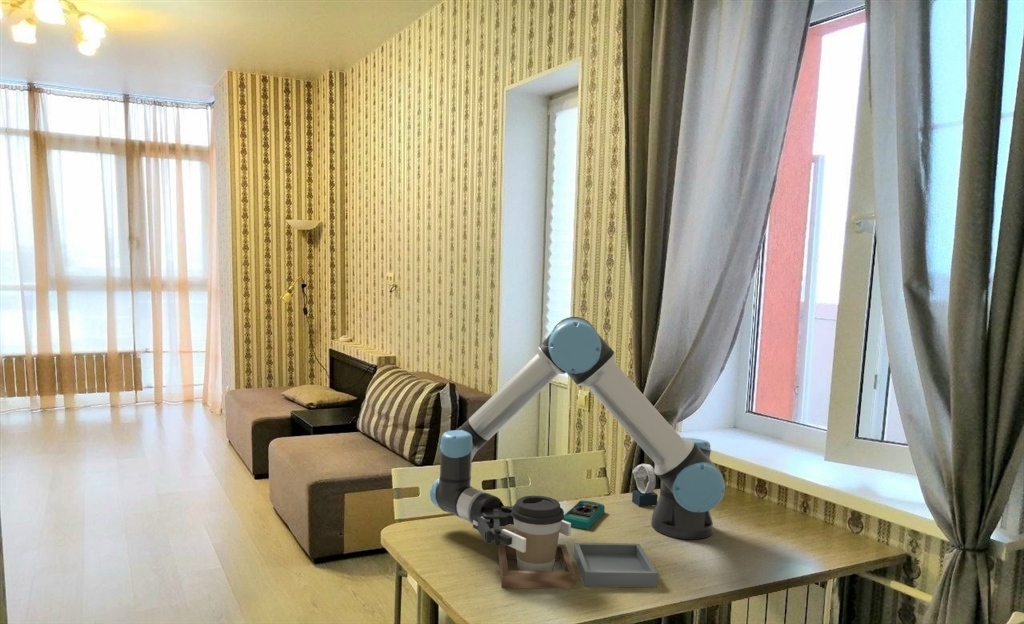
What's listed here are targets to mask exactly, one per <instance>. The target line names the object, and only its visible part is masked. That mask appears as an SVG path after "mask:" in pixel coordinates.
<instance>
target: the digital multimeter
mask: <svg viewBox="0 0 1024 624" xmlns="http://www.w3.org/2000/svg"><path fill="white" fill-rule="evenodd" d="M604 514H605V504H604V505H603V503H599V502H596V501H591V500H585V499H584V500H579V501H578V502H577V503H576V504H575V505H574V506H573V507H572V508H571V509H570V510H568V511H567V512H566V513H564V516H565V517H564V519H563V520H564V521H567V522H569V523H571V528H576V529H581V530H590V528H591V527H592V526H593V524H594V523H595V522H596V521H597V520H598V519H600V517H601V516H602V515H604Z"/></svg>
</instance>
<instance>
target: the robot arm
mask: <svg viewBox="0 0 1024 624" xmlns="http://www.w3.org/2000/svg"><path fill="white" fill-rule="evenodd" d="M615 359H616V353H615V351H614V350H613V349H612V348H611V347H610V346H609V344H608V343H607V342H606V341H605V340H604V339H603V337H602V336H601V335H600V334H599V333H598V331H597V330H596V328H595V326H594V325H593V324H591V322H590V321H589V320H587V319H585V318H582V317H579V316H570V317H566V318H563V319H562V320H560V321H559V322H558V323H557V324H556V325H555V326H554V328H553V329H552V331H551V332H550V333H549V335H548V336H547V337H546V338H545V339H544V340H543V341H542V343H540V344H539V345H538V346H537V353H536V354H535V355H534V356H532V358H530V360H529V361H527V363H525V364H524V365H523V366H522V367H521V368H520V369H519V370H518V371H517V372H516V373H515V374H514V375H513V376H512V377H511V378H509V380H508V381H507V382H505V384H503V385H502V386H501V387H500V388H499V389H498V390H497V391H496V392H495V393H494V394H493V395H492V396H491V397H489V399H487V400H486V401H485V403H483V405H481V406H480V407H479V408H478V409H477V410H476V411H475V412H474V413H473V414H472V415H471V416H470V417H469V418H468V419H467V420H466V421H465V422H464V423H463V424H462V425H461V426H459V427H457V428H456V429H455V430H448V431H445V432H443V434H442V435H441V440H440V446H439V449H440V457H439V459H440V460H439V461H440V463H439V467H440V468H439V469H440V470H439V477H438V478H436V480H434V482H433V484H432V487H431V488H430V490H429V491H430V492H429V497H430V501H431V503H432V504H433V505H434V506H436V507H437V508H439V509H441V510H442V511H443V512H445V513H450V514H451V515H455V516H457V517H459V518H460V519H463V520H464V521H467V522H469V523H470V524H472V528H473V529H475V530H477V531H478V533H479V535H480V536H481V537H482V539H483V540H484V542H485V544H489V545H490V544H491V543H492V542H493V545H494V546H495V547H499V545H500V543H503V544H506V545H508V546H510V547H512V548H514V549H516V550H519V551H521V552H523V553H524V552H526V538H524V537H522V536H519V535H517V534H515V532H512V531H510V530H508V529H506V528H503V529H501V527H506V526H509V525H513V526H514V518H513V517H512V516H511V512H512V507H510V506H508V505H507V506H506V505H504V503H503V501H502V500H501V498H499V497H498V496H496V495H493V494H490V493H488V492H486V491H483V490H481V489H479V488H476V487H473V486H471V484H472V482H471V481H472V480H471V479H472V463H473V462H472V461H473V459H474V456H475V455H476V454H477V453H478V451H479V450H480V449H481V448H482V447H483V446H484V445H486V443H488V441H489V440H490V439H492V438H493V436H495V435H496V434H497V433H498V432H499V431H500V430H501V429H502V428H503V427H504V426H505V425H506V424H507V423H508V422H510V420H512V419H513V418H514V417H515V416H516V415H517V414H518V413H519V412H520V411H521V410H522V409H523V408H525V406H526V405H527V404H528V403H530V402H531V401H532V400H533V399H534V398H535V397H536V396H537V395H538V394H539V393H540V392H541V391H542V390H544V389H545V388H546V387H547V386H548V385H549V384H550V383H551V382H552V381H553V380H554V379H555V378H556V377H557V376H558V375H565V374H567V375H568V376H569V378H570V379H571V380H572V381H573V382H574V383H575V384H576V385H577V386H579V387H587V388H588V390H590V392H591V393H592V394H593V395H594V396H595V397H596V398H597V400H599V402H600V403H601V404H602V405H603V406H604V408H606V410H607V411H608V412H609V413H610V415H612V417H613V418H615V420H616V422H618V423H619V425H620V426H622V428H623V429H624V430H625V431H626V433H627V434H628V435H629V436H630V437H631V438H632V439H633V440H634V442H635V443H637V445H638V446H639V447H640V448H641V449H642V451H643V452H644V453H645V454H646V455H647V456H648V458H649V459H650V460H651V461H652V462H653V463H654V467H653V468H654V472H655V476H657V477H658V478H659V479H660V490H659V491H660V492H659V496H658V498H657V504H656V506H654V510H653V512H652V514H651V522H650V523H651V527H652V528H653V529H654V530H655V531H656V532H658V533H660V534H662V533H663V535H665V536H668V537H672V538H676V539H683V540H701V538H702V539H706V538H709V537H710V536H712V535H713V530H714V528H713V527H714V522H713V518H712V515H711V510H713V509H714V508H716V507H717V506H718V505H719V503H721V501H722V499H723V498H724V495H725V491H726V487H725V486H726V484H725V481H724V480H725V479H724V476H723V473H722V472H721V471H720V469H718V467H717V466H716V465H715V464H714V462H713V461H712V460H711V453H712V449H711V443H710V442H709V441H707V440H705V439H700V438H694V437H681V436H680V434H679V433H678V432H677V431H676V430H675V429H674V428H673V426H672V425H671V424H670V423H669V422H668V421H667V420H666V418H664V416H663V415H662V414H661V413H660V412H659V410H658V409H657V408H656V407H655V406H654V405H653V404H652V402H651V401H650V400H649V399H648V398H647V397H646V396H645V395H644V393H643V392H642V391H641V390H640V389H639V388H638V387H637V386H636V385H635V383H634V382H633V381H632V380H631V379H630V378H629V377H628V376H627V374H626V373H625V372H624V371H623V370H622V369H621V367H619V365H618V364H617V363H616V362H615ZM514 505H516V503H514V504H513V506H514ZM571 530H572V527H571V523H569V522H567V521H564V520H562V521H561V526H560V532H559V534H561V535H564V536H566V537H570V536H571V535H572V534H571V532H572V531H571ZM708 536H709V537H708ZM705 537H706V538H705Z"/></svg>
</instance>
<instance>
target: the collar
mask: <svg viewBox="0 0 1024 624" xmlns="http://www.w3.org/2000/svg"><path fill="white" fill-rule="evenodd" d="M498 560H499V561H498V562H499V563H498V564H499V571H500V580H501V582H500V583H501V588H505V589H506V588H507V589H508V588H509V589H514V588H515V589H517V588H518V589H524V588H525V589H576V575H577V574H576V571H575V568H574V565H573V563H572V559H571V557H570V554H569V551H568V548H567V546H566V544H564V543H561V544H558V543H557V549H556V555H555V560H557V561H560V564H561V567H562V570H552V571H519V570H509V568H508V560H517V555H516V549H514V548H512V547H510V546H508V545H506V544H503V543H501V542H500V545H499V546H498ZM555 560H554V561H555Z"/></svg>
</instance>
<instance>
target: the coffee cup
mask: <svg viewBox="0 0 1024 624" xmlns="http://www.w3.org/2000/svg"><path fill="white" fill-rule="evenodd" d="M560 503H561V502H559V501H558V500H556V499H554V498H552V497H549V496H544V495H526V496H522V497H520V498H518V499H517V500H516V502H515V504H516V505H514V504H513V506H512V507H511V508H512V512H511V516H512V517H513V518H514V525H513V526H514V527H513V528H514V533H515V534H517V535H519V536H522V537H524V538H526V552H524V553H523V552H521V551H519V550H516V555H517V559H516V563H517V564H516V565H517V569H518V570H517V571H554V566H555V555H556V549H557V544H558V542H559V536H560V533H559V532H560V526H561V521H562V520H563V519H564V517H565V516H564V515H565V511H564V509H563V508H562V507H561V504H560Z"/></svg>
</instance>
